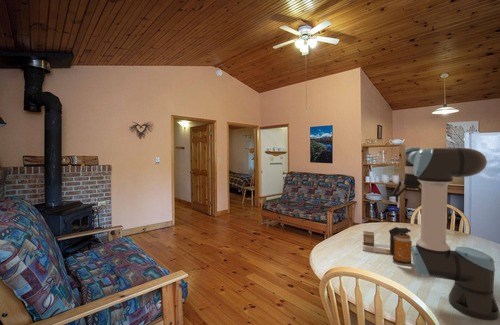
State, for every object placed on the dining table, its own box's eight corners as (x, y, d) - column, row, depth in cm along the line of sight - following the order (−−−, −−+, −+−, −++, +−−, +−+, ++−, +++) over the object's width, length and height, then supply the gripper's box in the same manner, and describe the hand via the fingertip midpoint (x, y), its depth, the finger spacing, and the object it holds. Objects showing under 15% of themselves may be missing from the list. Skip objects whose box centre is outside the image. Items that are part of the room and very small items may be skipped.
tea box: (374, 249, 154) (374, 235, 154) (363, 247, 157) (363, 234, 156) (373, 245, 160) (373, 232, 159) (363, 244, 162) (363, 231, 162)
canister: (414, 266, 134) (415, 230, 133) (391, 265, 136) (392, 229, 135) (407, 259, 143) (407, 225, 141) (386, 257, 145) (386, 224, 144)
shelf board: (407, 258, 143) (408, 251, 143) (362, 252, 153) (362, 245, 153) (403, 249, 156) (403, 242, 156) (362, 243, 166) (362, 238, 166)
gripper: (435, 173, 145) (434, 208, 147) (387, 172, 155) (387, 205, 157) (439, 174, 139) (438, 211, 140) (389, 173, 149) (388, 207, 150)
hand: (411, 208), depth 148 cm, fingers open, 13 cm apart
